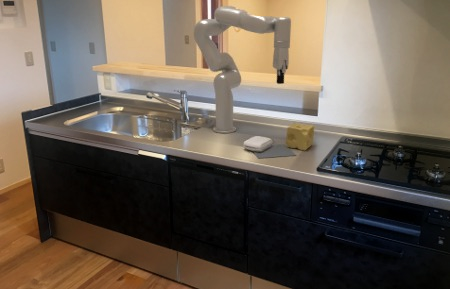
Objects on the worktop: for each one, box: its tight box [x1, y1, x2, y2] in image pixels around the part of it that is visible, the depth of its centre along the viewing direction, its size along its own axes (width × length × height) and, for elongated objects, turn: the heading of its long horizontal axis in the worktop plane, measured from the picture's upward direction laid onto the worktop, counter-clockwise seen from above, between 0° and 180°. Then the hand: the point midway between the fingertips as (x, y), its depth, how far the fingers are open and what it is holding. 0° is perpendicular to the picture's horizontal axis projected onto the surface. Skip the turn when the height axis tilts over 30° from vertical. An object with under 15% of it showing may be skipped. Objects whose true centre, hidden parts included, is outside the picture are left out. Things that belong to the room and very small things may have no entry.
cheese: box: [285, 122, 315, 151], centre depth 194 cm, size 10×11×10 cm
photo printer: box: [242, 135, 274, 152], centre depth 191 cm, size 10×4×12 cm
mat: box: [252, 143, 297, 160], centre depth 189 cm, size 16×18×1 cm
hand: (280, 83), depth 195 cm, fingers closed
